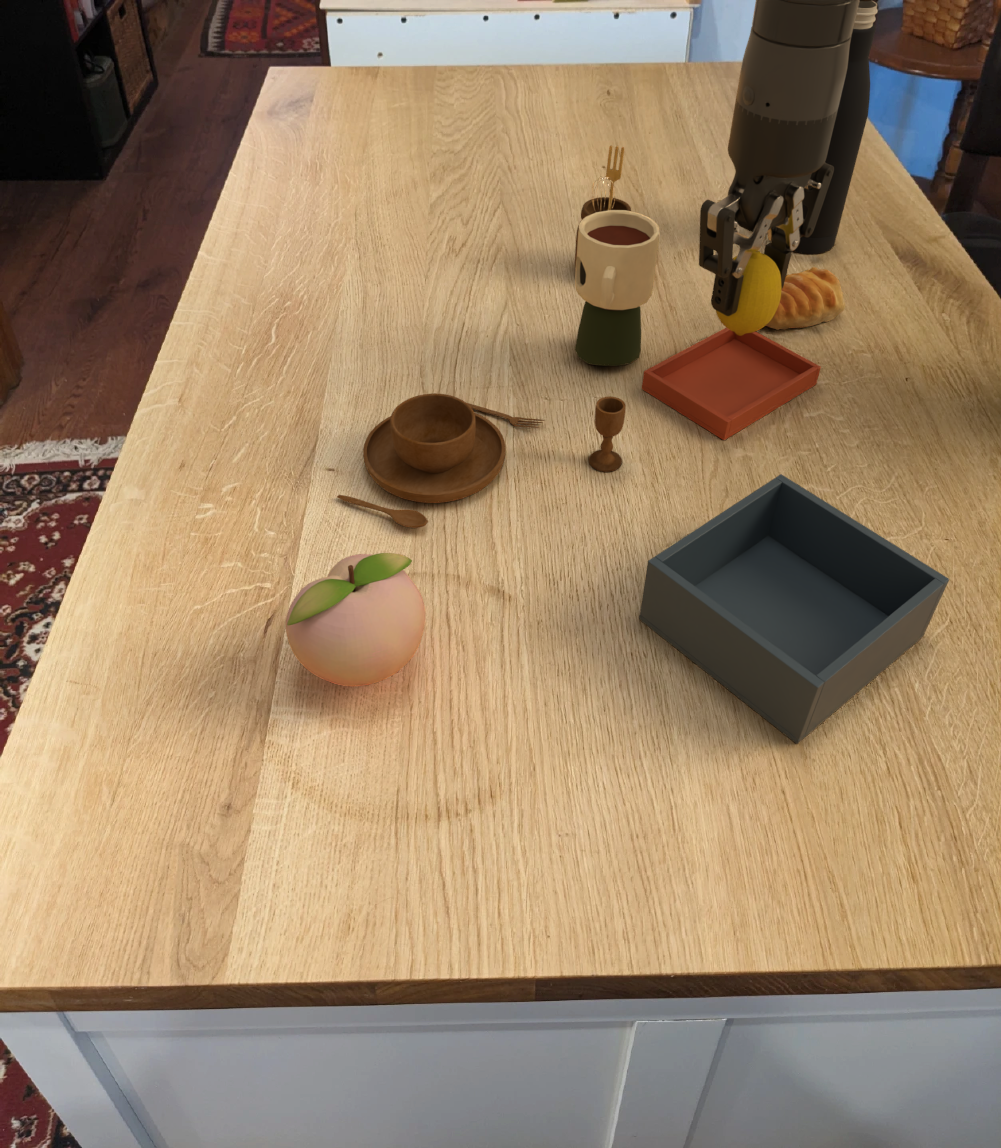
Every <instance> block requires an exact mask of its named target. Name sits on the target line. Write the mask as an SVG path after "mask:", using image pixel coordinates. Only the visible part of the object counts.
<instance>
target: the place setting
mask: <svg viewBox="0 0 1001 1148" xmlns="http://www.w3.org/2000/svg"><path fill="white" fill-rule="evenodd" d="M626 408H627V405H626V402H625V401H624V400H622V398H620V397H616V396H611V395H610V396H603V397H600V398H599V399H598V400H597V401H596V403H595V408H594V409H595V410H594V426H595V430H596V431H597V433H598V434H599V435H601V436H602V441H601V443H600V448H599V450H595V451H593V452H591V454H590V455H589V457H588V463H589V465H590V467H591V468H592V469H594V470H595V471H598V472H602V473H611V472H615V471H617V470H618V469H619V468H620V467H621V466H622V464H623V459H622V457H621V455H620V454H619V453H618V452H616V451H614V450H613V449H614V444H613V438H614V437H616V436H617V435H619V434H620V433H621V431H622V430H623V428H624V424H625V419H626V418H625V417H626ZM393 409H394V410H393V411H392V413H391V415H390V416H388V417H386V418H384V419H383V420H382V421H380V422H379V423H377V424H376V425H375V426H374V427H373V428H372V430H371V431H369V433H368V435H367V437H365V441H364V444H363V449H362V457H363V461H364V466H365V469H366V470H367V473H368V475H369V476H370V477H371V479H372V480H373V481H374V482H375V483H376V484H377V485H378V487H380V488H382V489H383V490H384V491H386V492H388V493H389V494H391V495H393V496H396V497H397V498H401V499H404V500H407V501H411V502H416V503H425V504H438V503H439V504H441V503H448V502H454V501H458V500H461V499H464V498H468V497H470V496H472V495H475V494H477V493H479V492H480V491H481V490H483V489H484V488H486V487H487V486H489V484H491V483H492V482H493V481H494V480H495V478H497V476H498V475H499V474H500V472H501V470H502V468H503V466H504V463H505V459H506V449H507V447H506V446H507V445H506V441H505V438H504V436H503V434H502V432H501V430H500V429H499V428H498V427H497V426H496V425H495V423H493V422H492V421H491V420H490V419H488V418H486V417H485V416H483V415H481V414H479V413H477V412H475V411H478V412H482V413H485V414H489V415H492V416H497V417H500V418H503V419H505V420H508V421H509V423H510V425H512V426H513V427H518V428H529V429H530V428H532V429H538V428H540V426H541V424H543V423H544V422H545V419H539V418H528V417H527V418H526V417H521V416H512V415H510V414H507V413H504V412H501V411H497V410H493V409H490V408H487V407H484V406H479V405H476V404H472V403H469V402H467V401H464V400H463V399H461V398H459V397H456V396H454V395H450V394H445V393H435V392H434V393H432V392H431V393H424V394H423V393H422V394H419V395H415V396H412V397H409V398H406V400H404V401H402V402H400V404H398V405H397V406H395V408H393ZM474 410H475V411H474ZM336 498H337V499H339V500H341V501H343V502H346V503H349V504H353V505H356V506H359V507H363V508H367V509H371V510H375V511H376V512H377V511H378V512H380V513H384V514H386V515H388V516H390V518H391V519H392V521H394V522H395V523H396V524H398V525H400V526H402V527H406V528H413V529H415V528H416V529H417V528H423V527H425V526H427V524H428V523H429V520H428V518H427V517H426V515H424V514H423V513H422V512H420V511H418V510H415V509H403V508H402V509H393V508H388V507H385V506H382V505H378V504H375V503H372V502H369V501H366V500H363V499H360V498H356V497H353V496H348V495H345V494H344V495H343V494H338V495H337V496H336Z"/></svg>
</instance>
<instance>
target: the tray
mask: <svg viewBox="0 0 1001 1148" xmlns="http://www.w3.org/2000/svg"><path fill="white" fill-rule="evenodd" d="M821 368H822V366H821V365H819V364H817V363H815V362H813V361H812V360H810V359H808V358H806V357H804V356H802V355H800V354H798V353H797V352H795V351H793V350H791V349H789V348H788V347H785V345H784V346H783V345H782V344H780V343H778V342H776V341H775V340H772V339H770V338H768V337H767V336H765V335H763V334H761V333H759V332H758V331H756V332H752V333H746V334H744V335H742V336H739V335H737V334H736V333H735V332H734V331H731V330H729V329H728V328H726V327H724V328H723V329H721V330H719V331H716V332H714V333H713V334H711V335H709V336H707V337H706V338H705V337H704V339H701V340H700V341H698V342H696V343H694V344H692V345H690V346H689V347H686V348H685V349H682V350H681V351H679V352H677V353H675V354H673V355H671V356H670V357H668V358H666V359H664V360H662V361H659V362H658V363H656V364H654V365H653V366H651V367H649V368H646V369H645V370H644V371H643V375H642V382H641V383H642V384H641V390H642V391H644V392H646V393H647V394H649V395H651V396H652V397H654V398H655V399H657V400H658V401H660V402H662V403H663V404H665V405H666V406H667V407H670V408H671V409H673V410H675V411H676V412H678V413H679V414H680V415H683V416H684V417H685V418H688V419H689V420H691V421H692V422H694V423H695V424H697V425H699V426H701V427H702V428H703V429H705V430H706V431H709V432H710V433H711V434H713V435H715V436H716V437H718V438H719V439H721V440H722V441H726V440H727V439H729V438H731V437H732V436H734V435H736V434H737V433H739V432H740V431H742V430H744V429H745V428H747V427H749V426H750V425H752V424H754V423H755V422H758V420H760V419H762V418H764V417H765V416H767V415H768V414H770V413H772V412H774V411H775V410H777V409H779V408H780V407H782V406H783V405H785V404H787V403H788V402H790V401H791V400H793V399H794V398H797V397H798V396H800V395H802V394H804V393H805V392H806V391H809V390H810V389H811V388H814V387H815V386H816V385H817V384H818V379H819V376H820V373H821Z"/></svg>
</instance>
